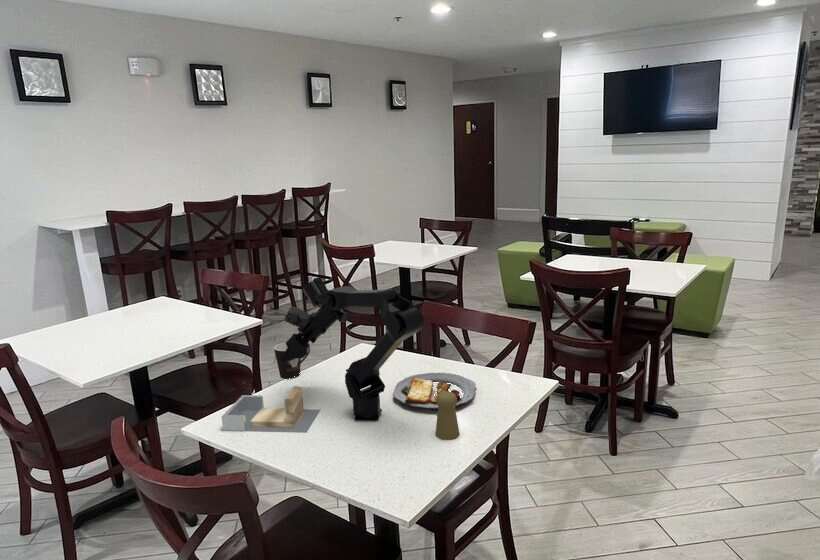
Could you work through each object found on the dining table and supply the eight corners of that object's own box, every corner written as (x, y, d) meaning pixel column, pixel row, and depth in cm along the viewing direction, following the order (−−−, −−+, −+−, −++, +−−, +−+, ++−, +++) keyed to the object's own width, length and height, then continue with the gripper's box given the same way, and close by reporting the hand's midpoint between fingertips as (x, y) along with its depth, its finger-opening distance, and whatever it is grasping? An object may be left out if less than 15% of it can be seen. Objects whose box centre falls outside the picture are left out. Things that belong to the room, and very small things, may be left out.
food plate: (470, 416, 147) (470, 404, 146) (385, 412, 152) (385, 400, 151) (478, 381, 171) (478, 370, 170) (404, 378, 176) (404, 368, 175)
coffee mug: (277, 382, 175) (274, 352, 173) (276, 372, 183) (273, 343, 181) (314, 376, 178) (311, 347, 176) (311, 367, 186) (309, 339, 184)
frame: (264, 408, 156) (262, 395, 155) (245, 431, 144) (243, 417, 143) (243, 408, 157) (242, 395, 156) (223, 430, 144) (221, 416, 143)
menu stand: (304, 413, 152) (301, 386, 150) (294, 427, 144) (291, 399, 143) (262, 412, 154) (259, 385, 152) (250, 426, 146) (247, 398, 144)
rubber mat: (320, 410, 154) (320, 409, 154) (306, 433, 142) (306, 432, 141) (242, 409, 157) (242, 408, 157) (221, 432, 144) (221, 430, 144)
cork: (444, 426, 143) (443, 386, 140) (464, 432, 139) (463, 392, 136) (430, 435, 138) (429, 394, 136) (450, 442, 134) (449, 400, 132)
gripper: (310, 289, 162) (275, 322, 166) (292, 310, 144) (253, 347, 148) (337, 315, 163) (302, 347, 167) (322, 340, 145) (283, 375, 150)
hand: (285, 353), depth 158 cm, fingers open, 9 cm apart
